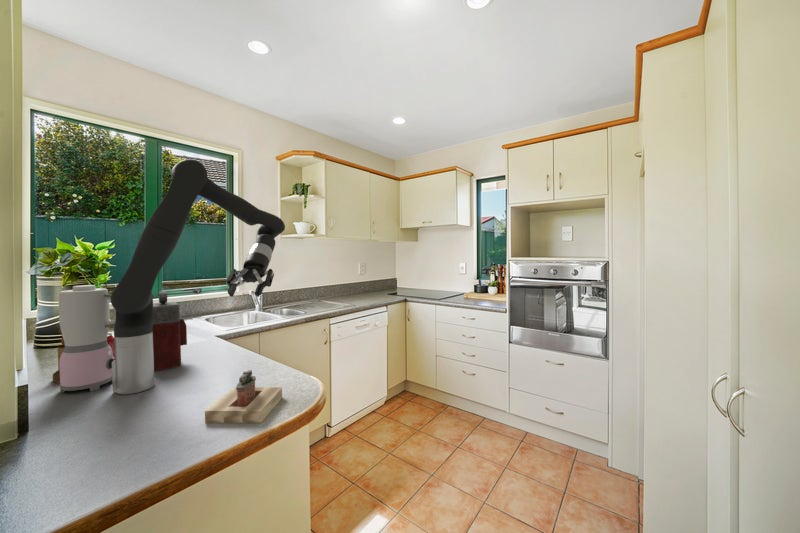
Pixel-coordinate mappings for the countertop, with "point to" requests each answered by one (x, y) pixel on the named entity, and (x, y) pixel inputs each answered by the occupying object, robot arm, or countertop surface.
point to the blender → (85, 338)
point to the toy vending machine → (167, 333)
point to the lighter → (245, 389)
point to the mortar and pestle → (60, 350)
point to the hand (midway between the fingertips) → (243, 295)
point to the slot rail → (253, 413)
